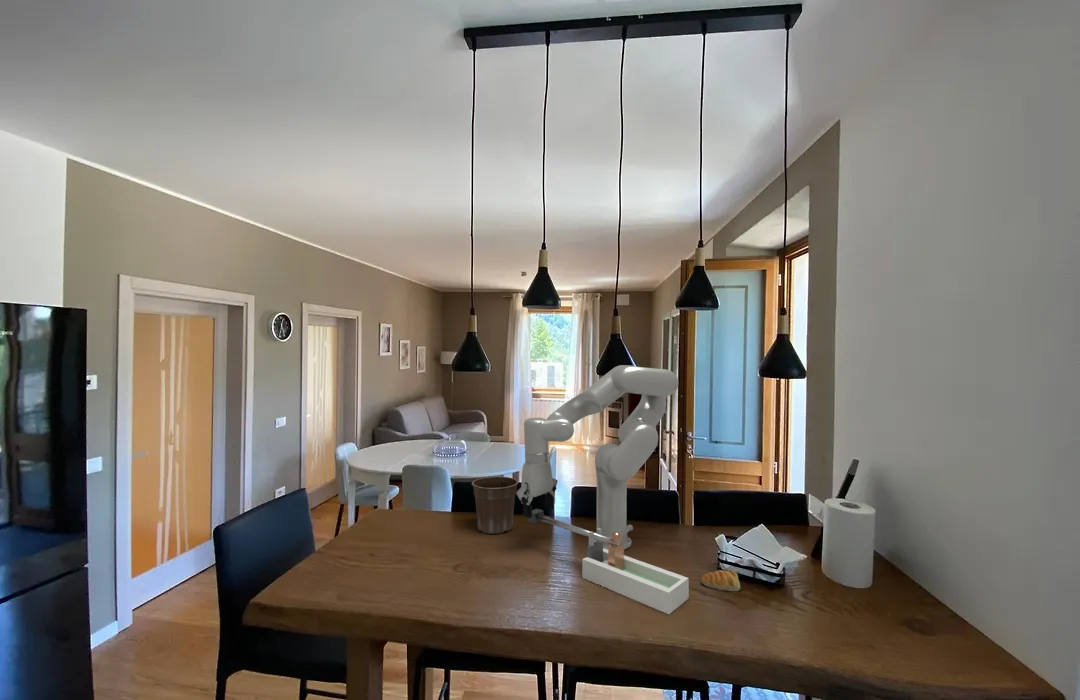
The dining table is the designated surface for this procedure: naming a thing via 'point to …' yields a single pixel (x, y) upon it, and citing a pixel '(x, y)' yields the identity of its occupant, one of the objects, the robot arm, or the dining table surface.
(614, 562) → the kicker rod
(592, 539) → the foosball box
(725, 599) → the dining table surface
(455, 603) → the dining table surface
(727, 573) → the pastry
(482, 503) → the plant pot
